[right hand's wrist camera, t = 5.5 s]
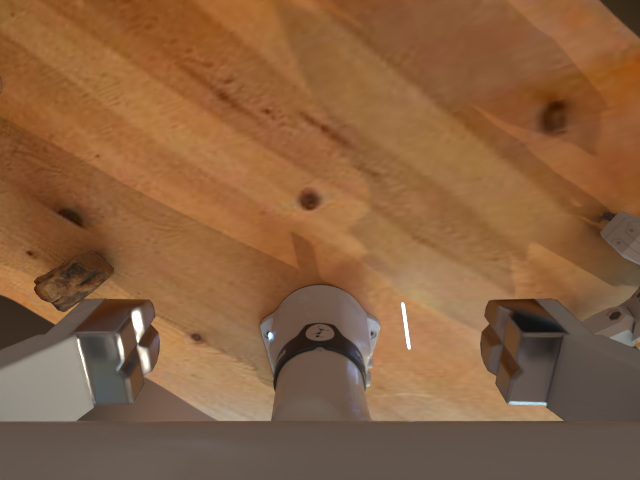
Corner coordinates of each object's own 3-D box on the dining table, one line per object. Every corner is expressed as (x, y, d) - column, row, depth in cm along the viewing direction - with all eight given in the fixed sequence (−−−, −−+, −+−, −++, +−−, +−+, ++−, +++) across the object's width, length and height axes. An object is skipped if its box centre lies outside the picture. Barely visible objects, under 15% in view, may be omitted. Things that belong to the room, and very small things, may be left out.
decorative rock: (102, 233, 60) (59, 264, 50) (130, 265, 62) (93, 301, 52) (42, 272, 63) (-11, 309, 53) (71, 302, 64) (25, 344, 54)
